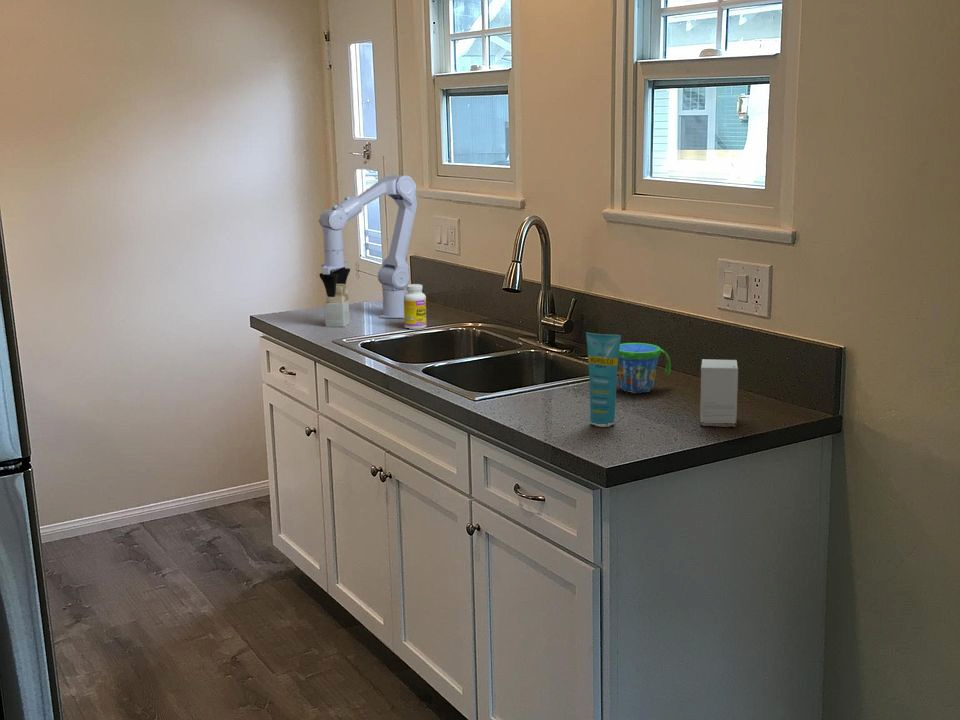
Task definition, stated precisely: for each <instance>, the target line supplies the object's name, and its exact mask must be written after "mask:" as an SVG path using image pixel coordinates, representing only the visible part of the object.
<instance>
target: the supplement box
mask: <svg viewBox="0 0 960 720" xmlns="http://www.w3.org/2000/svg"><path fill="white" fill-rule="evenodd" d="M738 367H739V366H738V361H737V359H710V358H709V359H705V358H704V359H703V358H702V359H701V364H700V403H699V404H700V405H699V406H700V407H699V409H700V410H699V411H700V412H699V415H700V416H699V417H700V418H699V422H704V423H733V424H734V423H736V424H737V418H738V417H737V414H738V413H737V412H738V391H739V390H738V389H739V388H738V383H739V368H738Z"/></svg>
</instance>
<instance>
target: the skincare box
mask: <svg viewBox="0 0 960 720" xmlns="http://www.w3.org/2000/svg"><path fill="white" fill-rule="evenodd" d="M349 304H350V301H349V300H348V301H346V302H344V303H327V301H326V302H324V303H323V306H324V307H323V309H324V319H325V320H324V321H325V327H326V328H345V327H347V326H348V325H349V324H351V319H350V318H351V317H350V305H349ZM347 324H348V325H347ZM346 325H347V326H346Z"/></svg>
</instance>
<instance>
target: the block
mask: <svg viewBox="0 0 960 720" xmlns="http://www.w3.org/2000/svg"><path fill="white" fill-rule="evenodd" d="M348 290H349V289H348V283H346V284H336V294H335V297H328V296H327V292H326V291H325V298H326V302H327V303H344V302H346V301H349V292H348Z"/></svg>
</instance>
